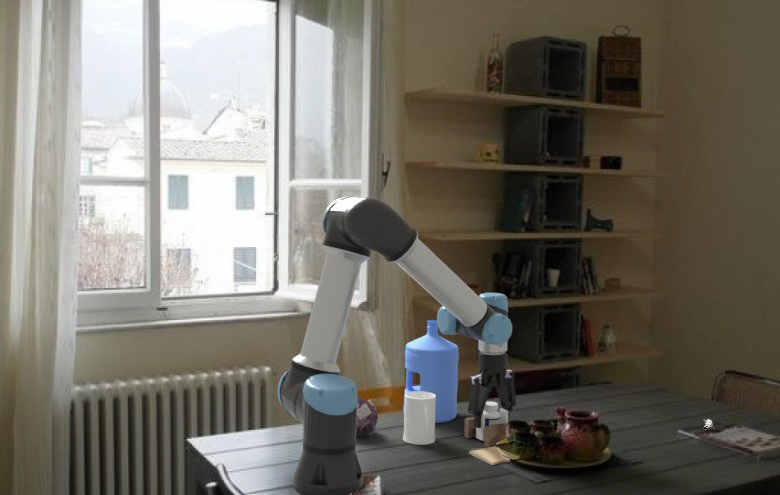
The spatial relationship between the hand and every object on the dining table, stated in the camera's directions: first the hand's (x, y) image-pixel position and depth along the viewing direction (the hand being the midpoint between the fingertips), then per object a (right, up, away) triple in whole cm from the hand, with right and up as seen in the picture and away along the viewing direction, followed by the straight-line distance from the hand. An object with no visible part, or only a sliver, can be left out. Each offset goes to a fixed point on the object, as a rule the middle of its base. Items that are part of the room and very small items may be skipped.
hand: (492, 436), depth 203 cm
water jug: (-16, +1, +20) cm, 25 cm away
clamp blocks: (-1, -1, -1) cm, 2 cm away
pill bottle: (-1, -1, 0) cm, 1 cm away
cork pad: (-1, -2, -14) cm, 14 cm away
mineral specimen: (-36, 0, +1) cm, 36 cm away
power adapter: (+62, -2, +14) cm, 64 cm away
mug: (-19, -1, -4) cm, 20 cm away
